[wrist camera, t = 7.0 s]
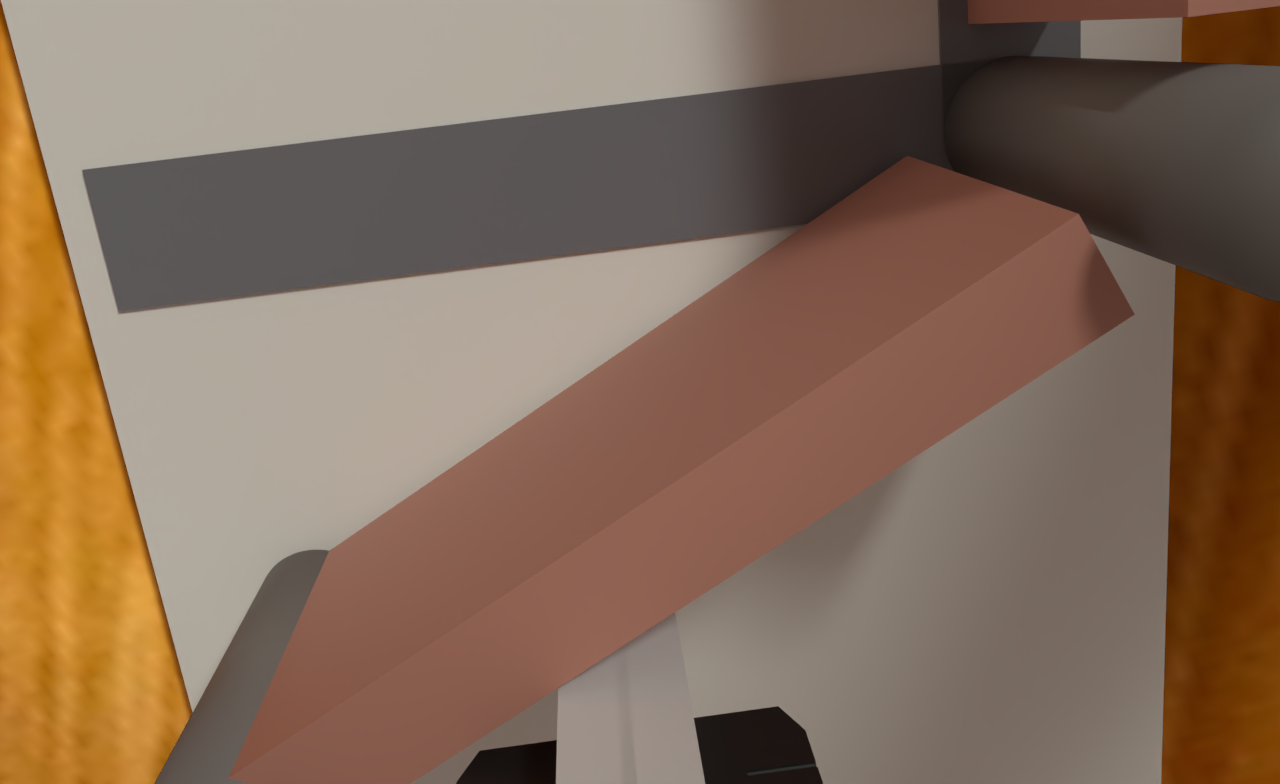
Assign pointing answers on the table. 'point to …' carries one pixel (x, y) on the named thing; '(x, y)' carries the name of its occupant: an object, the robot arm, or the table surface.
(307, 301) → the card
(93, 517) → the table surface
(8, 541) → the table surface
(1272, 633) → the table surface
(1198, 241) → the fence fixed
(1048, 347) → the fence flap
